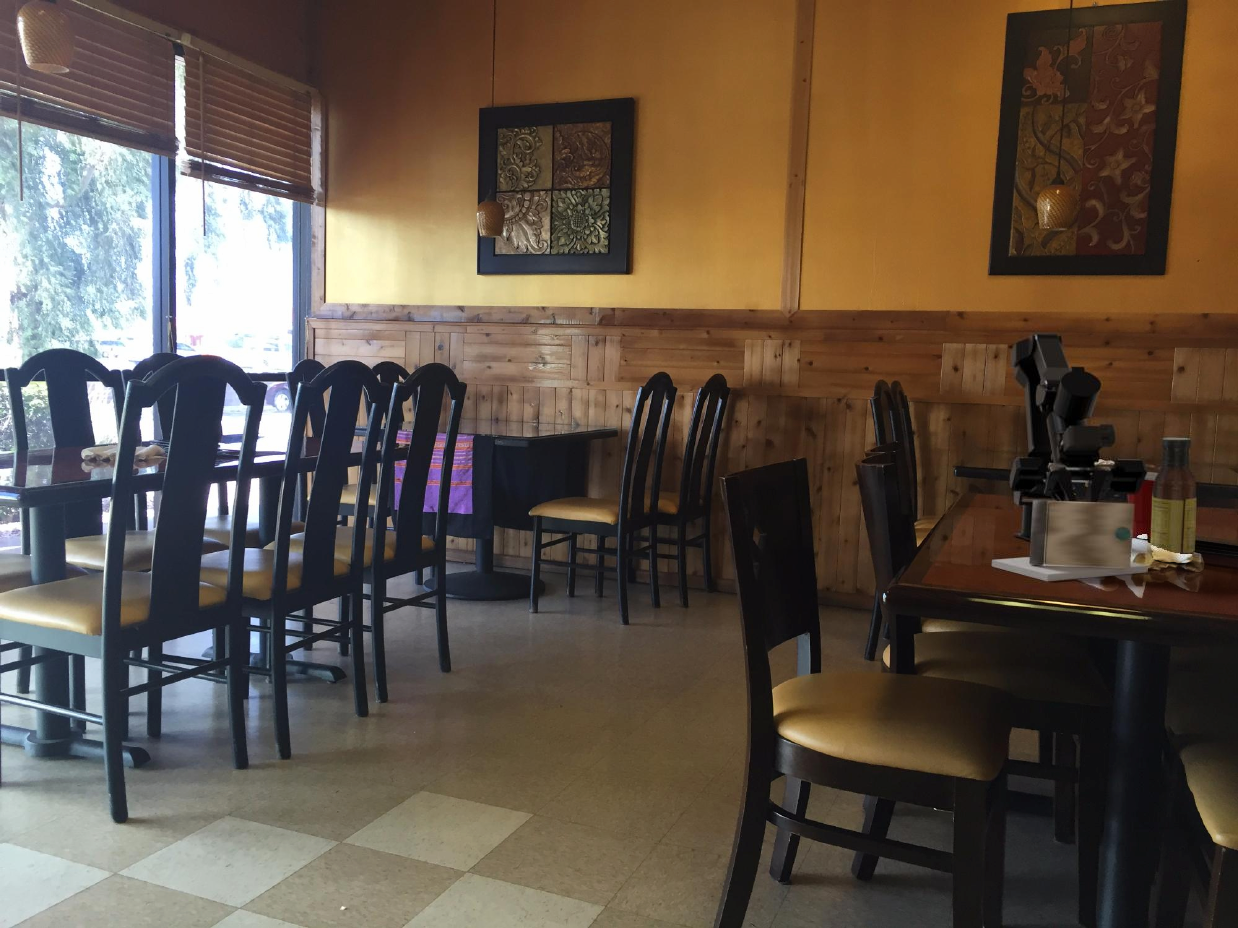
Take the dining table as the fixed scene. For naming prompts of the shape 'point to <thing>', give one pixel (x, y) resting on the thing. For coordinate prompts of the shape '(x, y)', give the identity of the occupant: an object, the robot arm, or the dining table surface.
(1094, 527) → the door
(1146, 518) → the plastic cup
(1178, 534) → the sauce bottle
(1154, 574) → the dining table surface
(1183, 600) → the dining table surface
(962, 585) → the dining table surface
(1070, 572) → the board
